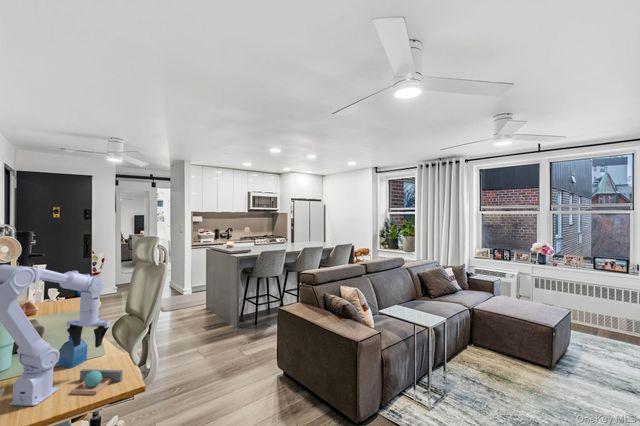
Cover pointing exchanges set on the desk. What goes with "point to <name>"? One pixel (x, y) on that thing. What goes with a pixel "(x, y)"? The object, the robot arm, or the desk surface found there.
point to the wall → (104, 374)
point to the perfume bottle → (72, 354)
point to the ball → (93, 379)
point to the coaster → (91, 390)
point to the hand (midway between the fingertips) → (87, 346)
